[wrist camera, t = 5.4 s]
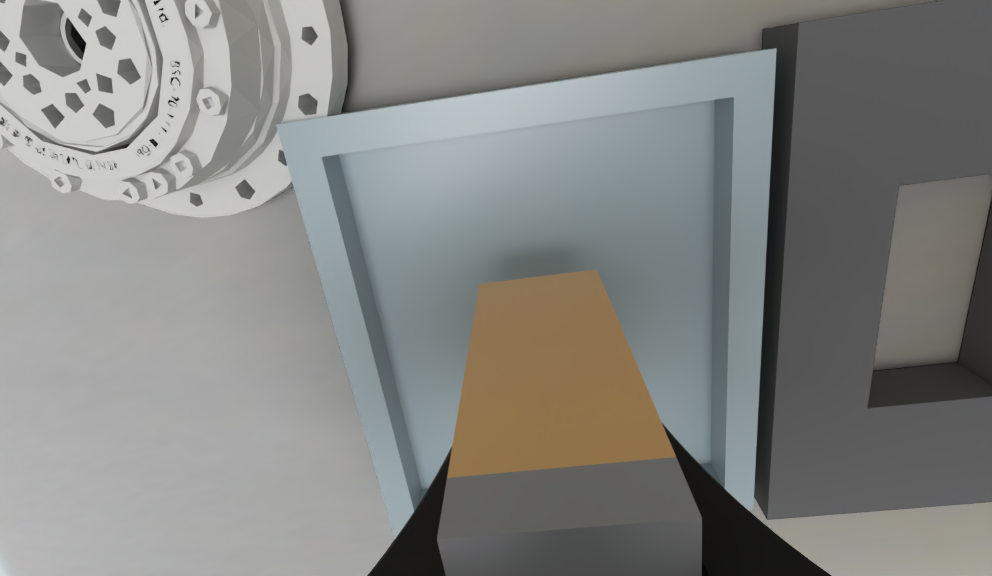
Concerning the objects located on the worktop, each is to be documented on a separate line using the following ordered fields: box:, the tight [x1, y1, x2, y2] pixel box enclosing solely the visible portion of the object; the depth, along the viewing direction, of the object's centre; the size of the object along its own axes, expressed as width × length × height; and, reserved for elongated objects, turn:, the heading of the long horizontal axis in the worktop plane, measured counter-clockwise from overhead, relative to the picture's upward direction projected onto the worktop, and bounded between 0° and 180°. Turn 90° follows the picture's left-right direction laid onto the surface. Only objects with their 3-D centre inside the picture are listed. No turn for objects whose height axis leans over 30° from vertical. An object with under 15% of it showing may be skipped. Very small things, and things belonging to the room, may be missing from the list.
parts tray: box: [276, 48, 777, 538], centre depth 17 cm, size 13×15×2 cm
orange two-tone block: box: [437, 269, 702, 576], centre depth 11 cm, size 3×6×8 cm, turn 8°
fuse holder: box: [754, 0, 992, 520], centre depth 16 cm, size 10×16×2 cm, turn 8°
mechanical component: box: [0, 0, 348, 218], centre depth 13 cm, size 10×4×10 cm
